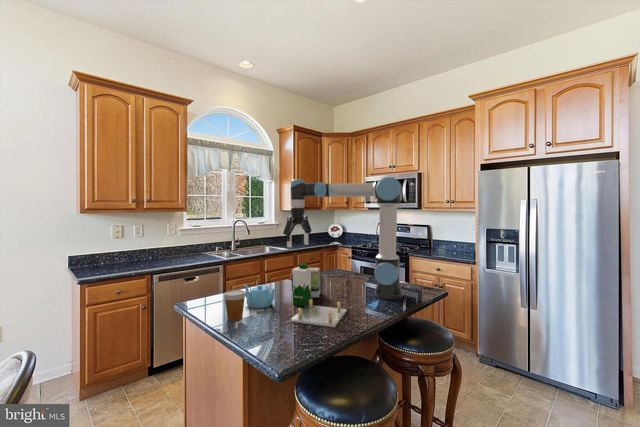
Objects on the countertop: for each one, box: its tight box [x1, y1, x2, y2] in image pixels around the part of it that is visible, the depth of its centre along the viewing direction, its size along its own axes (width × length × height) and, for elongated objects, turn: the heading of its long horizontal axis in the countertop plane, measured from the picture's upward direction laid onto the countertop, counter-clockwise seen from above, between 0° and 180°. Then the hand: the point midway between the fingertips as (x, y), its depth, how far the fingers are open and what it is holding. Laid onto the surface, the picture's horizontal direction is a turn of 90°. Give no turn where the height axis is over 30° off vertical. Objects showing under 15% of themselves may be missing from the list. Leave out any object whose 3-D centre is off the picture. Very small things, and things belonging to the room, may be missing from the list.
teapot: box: [243, 283, 278, 310], centre depth 160 cm, size 15×15×10 cm
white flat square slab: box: [290, 298, 347, 328], centre depth 145 cm, size 20×20×5 cm
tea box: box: [290, 267, 321, 298], centre depth 178 cm, size 15×10×15 cm, turn 84°
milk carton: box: [291, 262, 312, 307], centre depth 163 cm, size 9×9×20 cm
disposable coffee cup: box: [223, 289, 246, 322], centre depth 142 cm, size 10×10×12 cm
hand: (298, 245), depth 175 cm, fingers open, 13 cm apart
